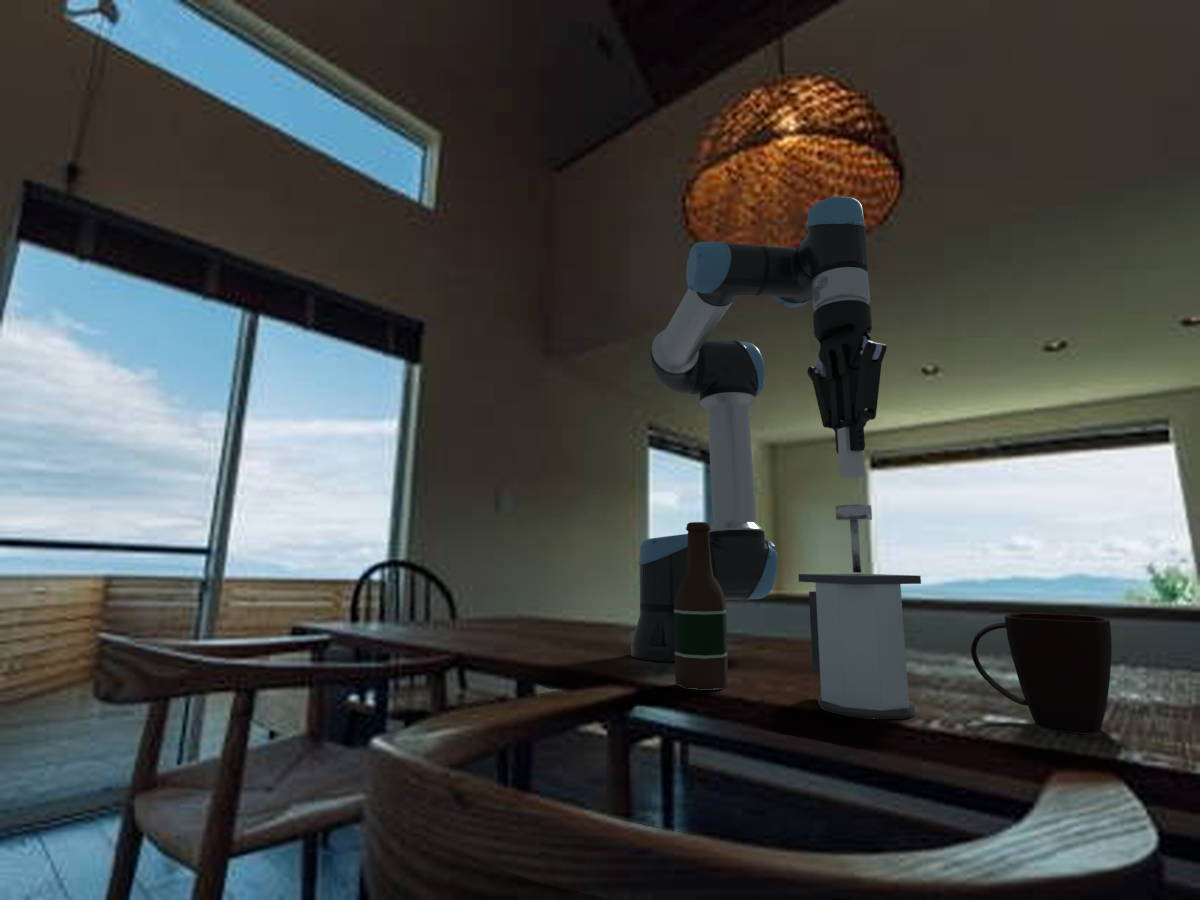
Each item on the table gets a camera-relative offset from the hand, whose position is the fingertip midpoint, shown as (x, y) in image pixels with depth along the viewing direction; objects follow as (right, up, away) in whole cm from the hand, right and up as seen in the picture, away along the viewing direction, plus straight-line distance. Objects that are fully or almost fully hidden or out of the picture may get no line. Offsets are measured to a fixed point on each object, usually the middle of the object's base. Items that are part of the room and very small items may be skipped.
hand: (852, 476), depth 86 cm
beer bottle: (-18, -31, +10) cm, 38 cm away
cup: (+18, -28, -12) cm, 35 cm away
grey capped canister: (-1, -29, -3) cm, 29 cm away
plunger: (0, -12, -2) cm, 12 cm away
